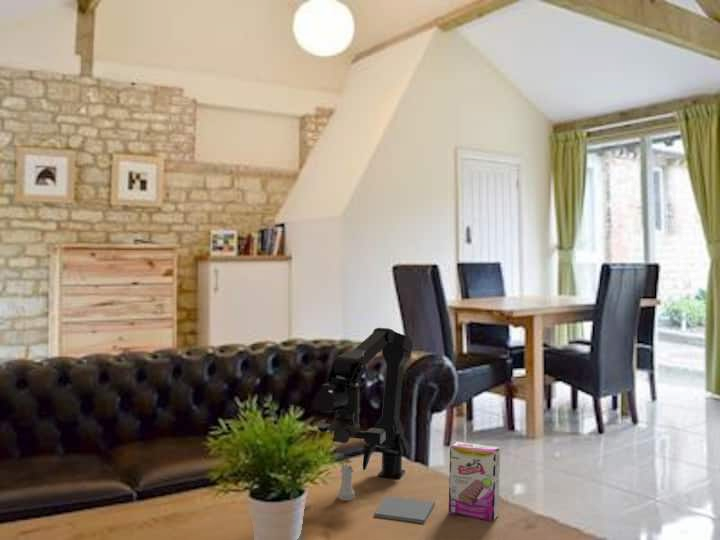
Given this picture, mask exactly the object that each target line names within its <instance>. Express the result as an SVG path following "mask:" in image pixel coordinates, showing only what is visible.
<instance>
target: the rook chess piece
mask: <svg viewBox="0 0 720 540" xmlns="http://www.w3.org/2000/svg"><path fill="white" fill-rule="evenodd" d="M339 471H340V472H341V476H340V477H341V483H340V487H339V489H338V491H337V498H338V500H340V501H342V502H350V501H353V500H354V499H355V497H356V495H355V494H356V492H355V489H354V487H353V485H352V478H353V475H352V473H353V472H354V469H353V466H352V465H350V464H349V465H348V464H347V465H342V466H341V469H340V470H339Z"/></svg>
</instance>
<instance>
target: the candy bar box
mask: <svg viewBox="0 0 720 540" xmlns="http://www.w3.org/2000/svg"><path fill="white" fill-rule="evenodd" d="M500 465H501V448H500V447H498V446H491V445H485V444H478V443H471V442H464V441H457V440H456V441H454V443H452V444H450V446H449V478H448V481H449V482H448V483H449V484H448V487H449V488H448V514H451V515H457V516H461V517H466V518H471V519H477V520H483V521H487V522H495V521H496V519H497V518H498V516H499V515H500V513H499V512H500V511H499V510H500V509H499V508H500V506H499V504H500V467H501V466H500Z"/></svg>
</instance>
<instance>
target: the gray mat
mask: <svg viewBox="0 0 720 540" xmlns="http://www.w3.org/2000/svg"><path fill="white" fill-rule="evenodd" d="M434 507H435V501H429V500H421V499H416V498H415V499H414V498H406V497H401V496H400V497H399V496H390V495H387V496H386V497H385V499H384V500H383V501H382V502H381V504H380V505H379V506H378V508H377V509H376V510H375V511H374V512H373V517H375V518H382V519H383V518H384V519H389V520H390V519H391V520H397V521H404V522H411V523H412V522H413V523H417V524H418V523H419V524H426V522H427V520H428V518H429V516H430V515H431V512H432V510H433V508H434Z"/></svg>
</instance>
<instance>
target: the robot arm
mask: <svg viewBox="0 0 720 540" xmlns="http://www.w3.org/2000/svg"><path fill="white" fill-rule="evenodd" d="M413 347H414V342H413V341H412V339H411V337H410V336H409V335H407V334H401V333H400V332H397V331H395V330H393V329H391V328H390V327H389V328H387V327H377V328H375V329H373V331H372V333H371V334H370V335H369V336H367V337H366V338H365V339H364V340H363V341H362V342H361V343H360V344H358V345H357V347H355V349H353V350H351V351H350V350H349V351H346V352H343V353H341V354H339V355H337V356H336V357H335V359H334V360H333V362H332V364H331V368H330V369H329V372H328V374H327V377H326V379H325V383H323V384H322V385H321V389H320V390H319V391H317V393H316V395H315V397H314V405H315V407H316V409H317V410H318V411H319V412H320V413H322V414H329V413H332V412H334V419H333V420H332V421H331V423H321V422H318V423H316V424H314V425H313V426H318V428H319V430H320V431H321V432H324V431H326V430H331V431H334V438H333V442H332V443H335V442H336V443H341V444H346V443H348V442H349V440H350V438H352V439H359V440H360V439H362V440H364V442H365V443H364V444H363V458H362V459H363V461H362V470H363V471H365V470H366V469H367V468H368V467H367V466H368V464H369V461H370V458H371V456H372V454H373V451H375V452H376V453H381V470H380V471H379V472H378V473H377V476H378V477H382V478H383V477H384V478H391V479H392V478H393V479H401V478H402V477H403V475H404V474H405V473H406V470H405V469H403V468H402V467H403V457H405V456H406V457H407V456H408V454H409V453H410V448H411V446H410V444H409V442H408V440H407V439H406V437H405V428H404V425H403V423H402V421H401V419H400V415H401V403H402V402H401V401H402V391H403V382H404V381H403V380H404V371H405V370H404V368H405V365H407V363H408V362H409V361H410V359H411V356H412V350H413ZM379 352H381V355H382V358H383V360H384V362H385V364H386V369H385V370H386V371H385V380H384V381H385V382H384V391H383V401H382V409H381V410H382V413H381V417H380V418H379V420H378V421H375V422H374V424H373V427H370V428H369V429H367V430H365V431H364V430H360V429H361V423H360V413H361V408H360V388H361V387H363V386H364V382H362V381H361V379H362V377H363V376H364V375H365V373H366V372H367V369H368V364H369V362H370V361H372V360H373V358H374V357H376V356H377V354H379Z"/></svg>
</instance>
